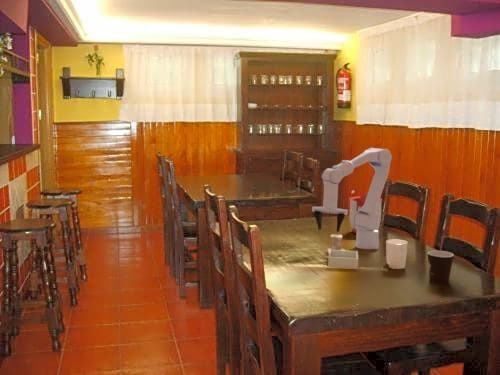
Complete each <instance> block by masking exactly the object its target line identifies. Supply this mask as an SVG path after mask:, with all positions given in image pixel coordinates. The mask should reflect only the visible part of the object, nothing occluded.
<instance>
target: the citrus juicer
mask: <svg viewBox="0 0 500 375" xmlns="http://www.w3.org/2000/svg"><path fill="white" fill-rule="evenodd" d="M367 194H368V192H364V193H363V194H362V195H361V196H351V197H349V222H350V223H349V224H350V226H351V230H352V232H353V233H354V234H355V233H356V234H357V228H356V225H355V224H354V222H353V218H354V216H355V214H356V213H357V212H358V209H359V208H361V207H362V206H363V205H364V203H365V200H366V197H367ZM382 202H383V199H382V198H381V197H380V200H379V202H378V205H377V208H376V211H377V213H378V214H379V217H378V225H377V227H376V228H375V230H378V231H379V229H380V228H379V227H380V225H381V224H380V223H381V221H382V220H381V219H382V218H381V217H382ZM367 215H369V214H367Z"/></svg>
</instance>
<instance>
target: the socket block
mask: <svg viewBox="0 0 500 375" xmlns="http://www.w3.org/2000/svg"><path fill="white" fill-rule="evenodd" d="M330 248H331V250H342V249H343V235H342V234H331V235H330Z"/></svg>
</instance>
